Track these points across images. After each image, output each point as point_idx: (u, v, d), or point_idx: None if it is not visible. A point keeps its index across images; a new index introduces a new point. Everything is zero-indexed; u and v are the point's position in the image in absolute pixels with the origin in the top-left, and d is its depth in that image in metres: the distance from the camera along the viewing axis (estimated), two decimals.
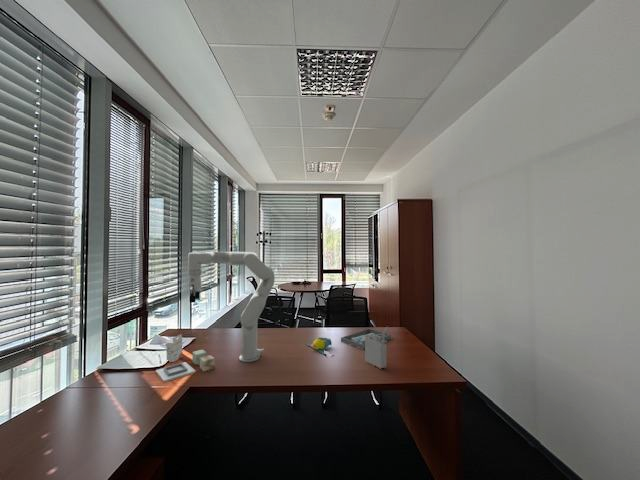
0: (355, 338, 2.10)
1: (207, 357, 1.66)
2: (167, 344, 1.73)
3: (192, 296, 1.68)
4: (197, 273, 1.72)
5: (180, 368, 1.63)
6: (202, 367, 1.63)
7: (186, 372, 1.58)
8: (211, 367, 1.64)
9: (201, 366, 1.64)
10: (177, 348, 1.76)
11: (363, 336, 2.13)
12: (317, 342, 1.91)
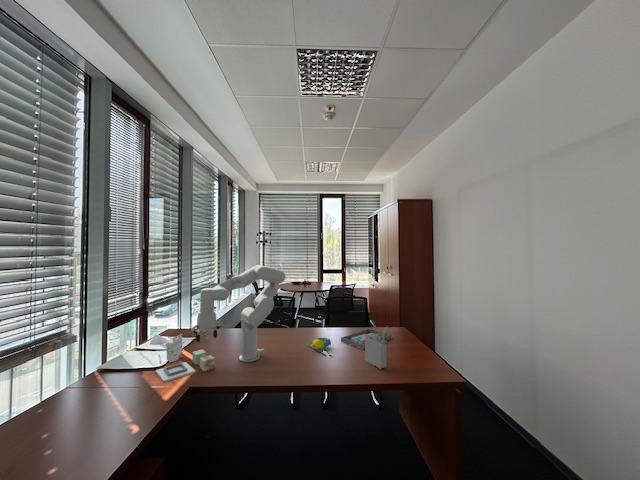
0: (355, 338, 2.10)
1: (207, 357, 1.66)
2: (167, 344, 1.73)
3: None
4: None
5: (180, 368, 1.63)
6: (202, 367, 1.63)
7: (186, 372, 1.58)
8: (211, 367, 1.64)
9: (201, 366, 1.64)
10: (177, 348, 1.76)
11: (362, 336, 2.14)
12: (316, 342, 1.91)
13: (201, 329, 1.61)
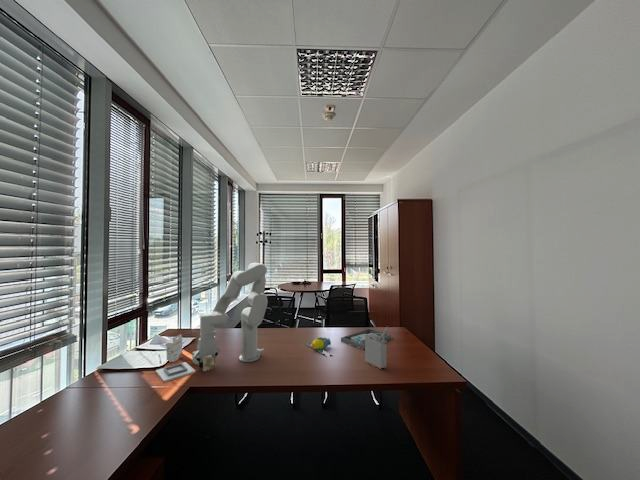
0: (354, 337, 2.11)
1: (207, 357, 1.66)
2: (167, 344, 1.73)
3: None
4: None
5: (180, 368, 1.63)
6: None
7: (186, 372, 1.58)
8: (211, 367, 1.64)
9: None
10: (177, 348, 1.76)
11: (362, 335, 2.15)
12: (316, 342, 1.91)
13: (201, 355, 1.61)
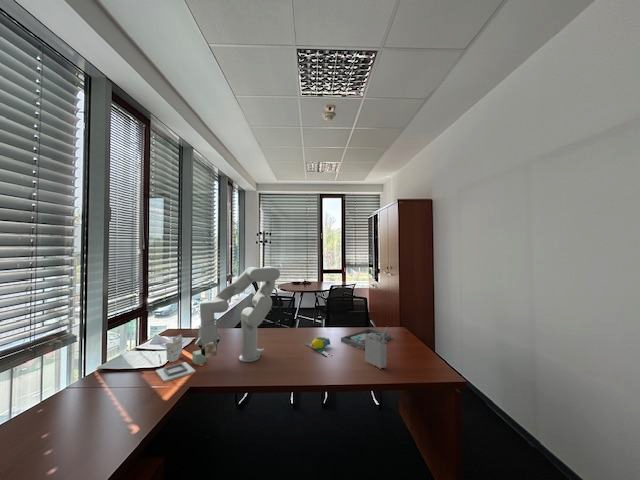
0: (354, 337, 2.12)
1: (209, 344, 1.67)
2: (167, 344, 1.73)
3: None
4: None
5: (180, 368, 1.63)
6: None
7: (186, 372, 1.58)
8: (213, 353, 1.65)
9: None
10: (177, 348, 1.76)
11: (362, 335, 2.15)
12: (316, 342, 1.91)
13: (203, 342, 1.62)
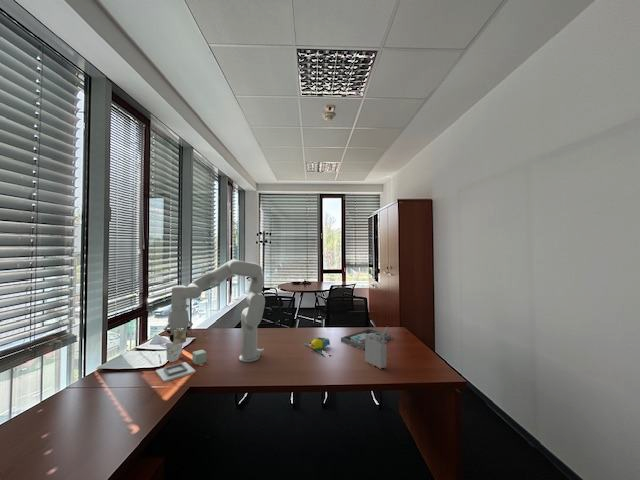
0: (353, 337, 2.12)
1: (178, 330, 1.61)
2: (167, 344, 1.73)
3: None
4: None
5: (180, 368, 1.63)
6: (173, 340, 1.58)
7: (186, 372, 1.58)
8: (182, 340, 1.59)
9: None
10: (177, 348, 1.76)
11: (361, 335, 2.16)
12: (315, 342, 1.91)
13: (172, 328, 1.56)
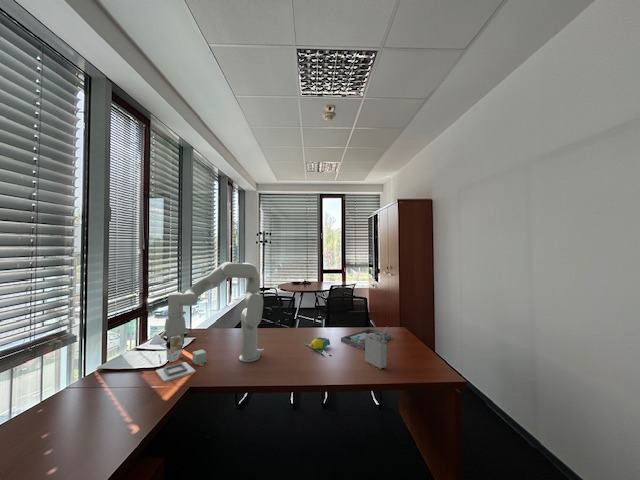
0: (353, 337, 2.13)
1: (175, 337, 1.61)
2: None
3: None
4: None
5: (180, 368, 1.63)
6: None
7: (186, 372, 1.58)
8: (179, 347, 1.59)
9: None
10: None
11: (361, 335, 2.16)
12: (315, 342, 1.91)
13: (169, 335, 1.56)
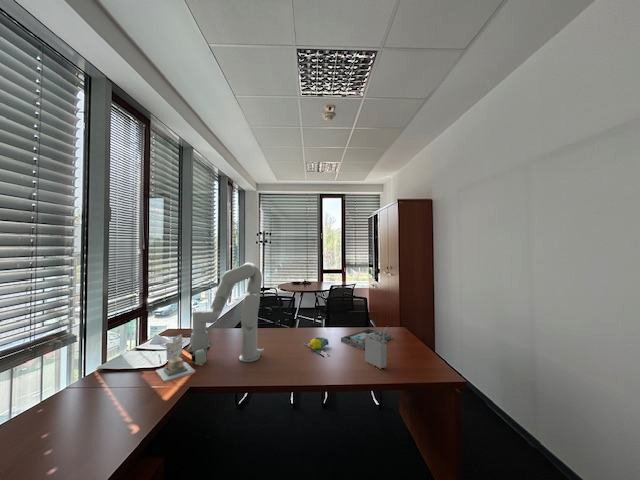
0: (353, 337, 2.13)
1: (176, 359, 1.61)
2: (167, 344, 1.73)
3: None
4: None
5: None
6: (170, 369, 1.57)
7: (186, 372, 1.58)
8: (179, 369, 1.59)
9: (169, 368, 1.59)
10: (177, 348, 1.76)
11: (361, 334, 2.17)
12: (314, 342, 1.91)
13: (194, 349, 1.70)
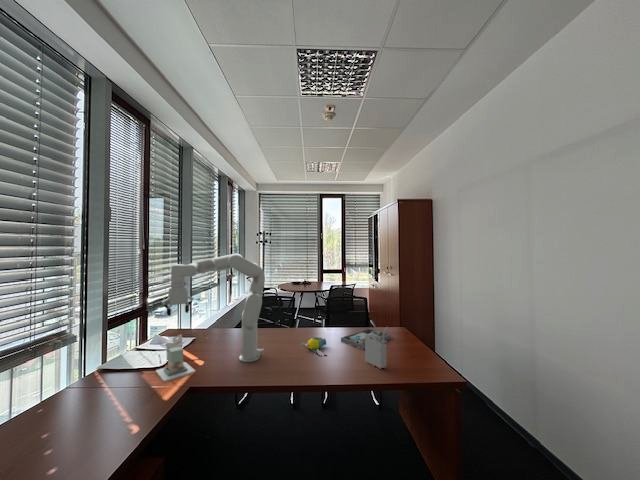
0: (353, 337, 2.13)
1: None
2: (167, 344, 1.73)
3: None
4: None
5: None
6: (170, 369, 1.57)
7: (186, 372, 1.58)
8: (179, 369, 1.59)
9: (169, 368, 1.59)
10: None
11: (359, 334, 2.17)
12: (311, 342, 1.91)
13: (172, 303, 1.65)
